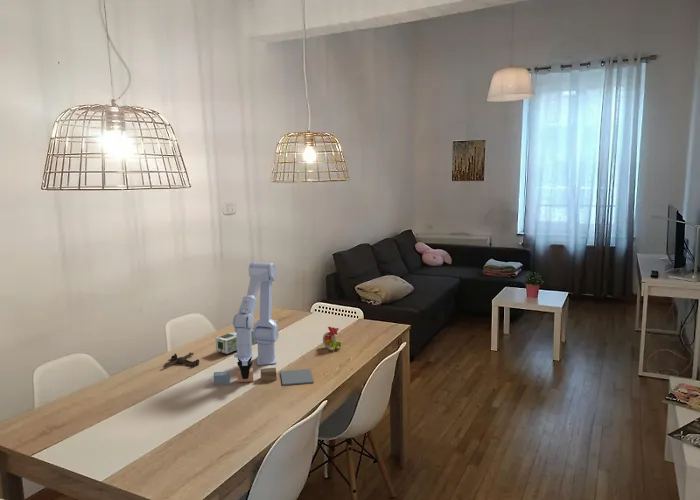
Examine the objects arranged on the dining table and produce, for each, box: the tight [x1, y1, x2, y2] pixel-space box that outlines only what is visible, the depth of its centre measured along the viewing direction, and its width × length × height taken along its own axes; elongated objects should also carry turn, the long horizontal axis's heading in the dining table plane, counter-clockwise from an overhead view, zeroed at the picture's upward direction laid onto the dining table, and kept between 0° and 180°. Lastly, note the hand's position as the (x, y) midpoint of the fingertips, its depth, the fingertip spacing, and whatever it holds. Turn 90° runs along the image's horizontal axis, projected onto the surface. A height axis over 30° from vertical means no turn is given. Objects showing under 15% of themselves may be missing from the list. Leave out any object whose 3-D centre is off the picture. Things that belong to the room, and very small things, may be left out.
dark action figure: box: [162, 351, 200, 369], centre depth 223 cm, size 18×4×14 cm
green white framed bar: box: [215, 319, 279, 354], centre depth 248 cm, size 35×8×7 cm, turn 147°
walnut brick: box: [260, 367, 277, 382], centre depth 207 cm, size 4×6×4 cm, turn 102°
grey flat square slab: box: [279, 368, 314, 386], centre depth 208 cm, size 13×12×1 cm
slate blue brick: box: [213, 370, 231, 386], centre depth 203 cm, size 4×6×4 cm, turn 101°
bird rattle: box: [322, 326, 342, 351], centre depth 241 cm, size 6×11×9 cm
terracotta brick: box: [236, 367, 254, 383], centre depth 205 cm, size 4×6×4 cm, turn 102°
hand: (245, 376), depth 205 cm, fingers closed on terracotta brick, 3 cm apart
